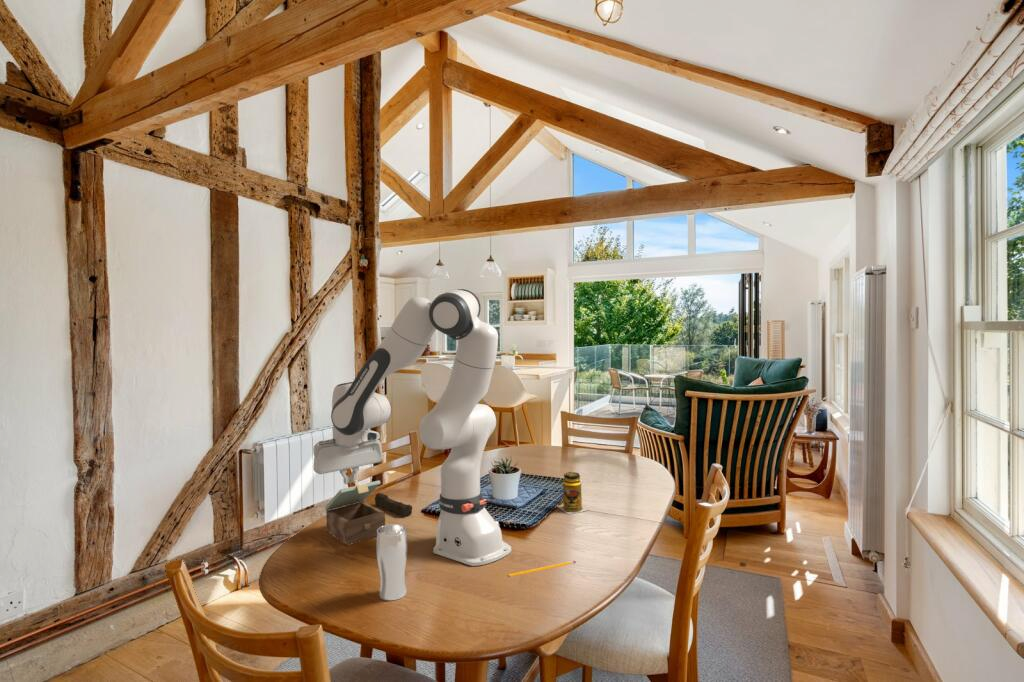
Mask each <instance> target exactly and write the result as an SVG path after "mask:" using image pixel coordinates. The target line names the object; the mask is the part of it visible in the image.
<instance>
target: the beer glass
mask: <svg viewBox="0 0 1024 682" xmlns="http://www.w3.org/2000/svg"><path fill="white" fill-rule="evenodd" d="M407 534H408V533H407V527H406V525H404V524H401V523H389V524H385V525H384V526H381V527H380V528H378V529H377V537H376V543H375V545H376V546H375V547H376V548H375V549H376V551H375V552H376V559H377V565H378V566H377V567H378V569H379V570H378V571H379V575H380V587H379V595H378V596H379V597H380V599H381V600H383V601H387V602H388V601H390V602H392V601H397V600H400V599H402V598H403V597H404V596H406V595H407V586H406V581H405V574H406V573H405V572H406V565H407V560H408V559H407V558H408V535H407Z"/></svg>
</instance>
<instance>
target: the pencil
mask: <svg viewBox="0 0 1024 682" xmlns="http://www.w3.org/2000/svg"><path fill="white" fill-rule="evenodd" d="M573 564H577V563H576V560H572V561H567V562H563V563H557V564H553V565H547V566H543V567H538V568H533V569H528V570H524V571H519V572H514V573H509V574H508V577H509V578H511V577H515V576H521V575H525V574H530V573H535V572H539V571H544V570H548V569H555V568H558V567H564V566H568V565H573Z"/></svg>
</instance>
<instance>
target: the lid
mask: <svg viewBox="0 0 1024 682" xmlns="http://www.w3.org/2000/svg"><path fill="white" fill-rule="evenodd" d="M379 485H381V480H375V481H372V482H366V483H362V484H358V485H353V486H350V487H349V486H348V487H346V488H341V489H339V491H338V492H337V493H336V494H335V495H334V496H333V498H332V499H331V500H330V501H329V502H328V504H326V506H324V509H325V512H326V511H328V510H332V509H336V508H340V507H344V506H347V505H351V504H355V503H359V502H363V501H364V502H365V501H366V500H367V499H368V497H369V496H370V495H371V494H372V493H373V492H374V491H375V490H376V489H377V488H378V487H379Z"/></svg>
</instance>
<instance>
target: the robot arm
mask: <svg viewBox="0 0 1024 682" xmlns="http://www.w3.org/2000/svg"><path fill="white" fill-rule="evenodd" d="M481 307H482V306H481V303H480V299H479V298H478V296H477V295H476V294H475V293H473V292H472V291H470V290H468V289H464V288H463V289H462V288H461V289H460V288H459V289H451V290H448V291H445V292H444V293H441V294H440V295H438V296H437V297H435V298H434V300H430V299H428V298H427V297H424V296H414V297H412V298H411V297H410V298H409V299H408V300H407V301H406V303H405V304H404V305H403V307H401V309H400V311H399V312H398V314H397V316H396V317H395V319H394V320H393V323H392V324H391V327H390V328H389V330H388V332H387V334H386V335H385V337H384V338H383V340H382V342H381V343H380V344H379V345H378V346H377V348H375V350H374V351H373V352H372V354H370V356H369V357H367V359H366V361H365V362H364V364H363V366H362V367H361V369H360V370H359V372H358V373H357V375H356V376H355V378H354V379H353V381H350V382H349V381H348V382H344V383H340V384H337V385H335V386H334V388H333V392H332V397H331V398H332V400H331V414H330V419H331V422H332V438H331V439H326V440H325V439H324V440H320V441H318V442H317V443H316V444H315V445H314V446H313V466H312V467H313V471H314V472H315V473H316V474H318V475H325V474H330V473H335V472H338V471H339V474H340V475H341V477H343V483H344V484H345V485H348V484H352V483H356V477H357V474H358V473H359V471H360V467H364V466H369V465H373V464H378V463H381V462H382V460H383V447H382V443H381V441H380V440H379V439H380V438H381V437H380V433H379V432H378V431H375V430H371V429H373V428H375V427H380V426H382V425H384V424H386V423H387V422H388V421H389V420H390V419H391V415H392V405H391V402H390V400H389V398H388V397H387V396H386V395H384V394H383V393H377V392H376V390H377V389H378V387H379V386H380V384H381V383H382V381H383V380H385V379H386V378H387V377H389V376H390V375H392V374H394V373H395V372H397V371H399V370H401V369H404V368H406V367H409V366H411V365H413V364H415V363H416V362H417V361H418V360H419V359H420V358H421V356H422V355H423V353H424V352H425V350H426V349H427V346H428V345H429V342H430V341H431V338H432V337H433V336H434V333H435V332H436V331H439V332H440V333H442V334H444V335H446V336H447V337H449V338H451V339H452V340H455V341H457V346H456V347H457V348H456V353H455V356H454V361H453V365H452V368H451V372H450V377H449V379H448V382H447V385H446V387H445V390H444V391H443V393H442V394H441V396H440V398H439V399H438V401H437V403H436V404H435V405H434V406H433V408H432V409H431V410H430V411H429V412H428V413H426V414H425V415H424V416H423V417H422V418H421V420H420V423H419V427H418V434H419V437H420V440H421V442H422V443H423V445H424V446H425V447H426V448H428V449H430V450H448V449H450V452H449V454H448V457H446V459H445V460H444V461H443V463H442V464H441V467H440V494H439V500H438V501H439V502H438V503H439V508H440V513H439V517H438V519H437V524H436V525H437V526H436V538H435V539H436V541H435V544H434V545H435V546H433V548H432V549H433V550H432V553H433V554H436V555H439V556H441V557H444V558H447V559H450V560H453V561H455V562H460V563H462V564H465V565H468V566H472V567H477V566H483V565H486V564H490V563H493V562H495V561H499V560H500V559H503V558H504V557H506V556H508V555H509V554H510V553H511V552H512V546H511V545H509V544H508V543H507V542H505V541H504V540H503V535H502V534H503V533H502V529H501V527H500V524H499V521H498V520H495V519H494V518H493V517H492V515H491V514H490V512H489V511H488V510H487V509H486V504H487V503H488V502H487V499H486V498H484V496H483V493H482V492H481V465H482V460H483V454H484V450H485V448H486V445H487V442H488V440H489V438H490V437H491V436H492V434H493V433H494V431H495V429H496V426H497V418H496V415H495V412H494V410H493V409H492V408H491V407H490V406H489V405H487V404H483V403H479V402H480V401H482V399H483V398H484V397H485V396H486V395H487V393H488V391H489V388H490V385H491V382H492V381H491V380H492V377H493V372H494V368H495V364H496V360H497V354H498V347H499V333H498V331H497V329H496V328H495V327H494V326H493V325H491V324H490V323H487V322H484V321H482V320H481V319H480V318H479V316H480V313H481ZM349 469H351V470H352V472H351V474H350V475H347V474H346V473H348V470H349Z"/></svg>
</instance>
